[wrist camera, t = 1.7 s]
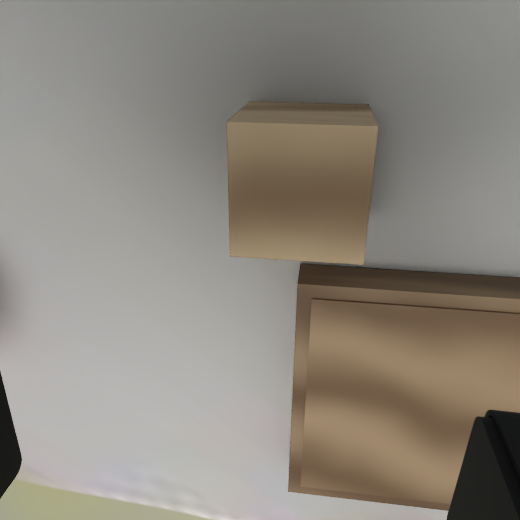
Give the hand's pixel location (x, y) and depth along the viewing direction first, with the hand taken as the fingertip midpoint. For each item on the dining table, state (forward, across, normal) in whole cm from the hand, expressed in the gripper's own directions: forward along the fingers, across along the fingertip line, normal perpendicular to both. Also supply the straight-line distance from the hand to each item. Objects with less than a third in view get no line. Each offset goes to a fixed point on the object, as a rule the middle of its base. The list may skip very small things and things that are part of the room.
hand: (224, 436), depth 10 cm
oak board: (+19, -9, +13) cm, 24 cm away
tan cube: (+19, 0, -1) cm, 19 cm away
